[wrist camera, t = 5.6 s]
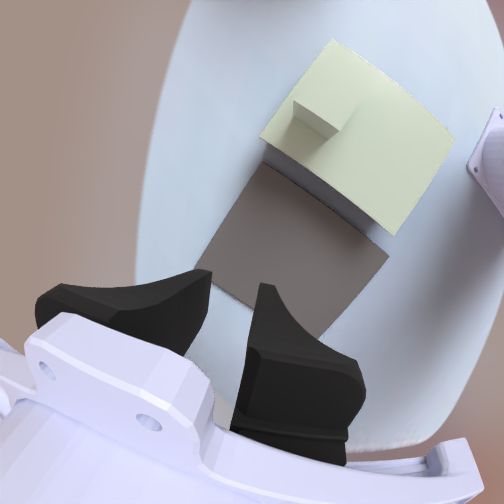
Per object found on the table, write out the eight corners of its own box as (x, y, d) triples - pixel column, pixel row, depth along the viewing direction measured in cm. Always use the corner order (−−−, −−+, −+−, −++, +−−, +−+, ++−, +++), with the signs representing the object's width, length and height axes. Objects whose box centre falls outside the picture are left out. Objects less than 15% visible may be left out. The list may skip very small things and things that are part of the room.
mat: (387, 254, 20) (389, 256, 20) (311, 342, 23) (311, 344, 23) (262, 161, 19) (262, 161, 19) (195, 267, 22) (193, 269, 22)
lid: (447, 140, 14) (490, 136, 9) (387, 231, 17) (418, 255, 12) (329, 45, 14) (341, 8, 9) (261, 138, 16) (249, 127, 12)
